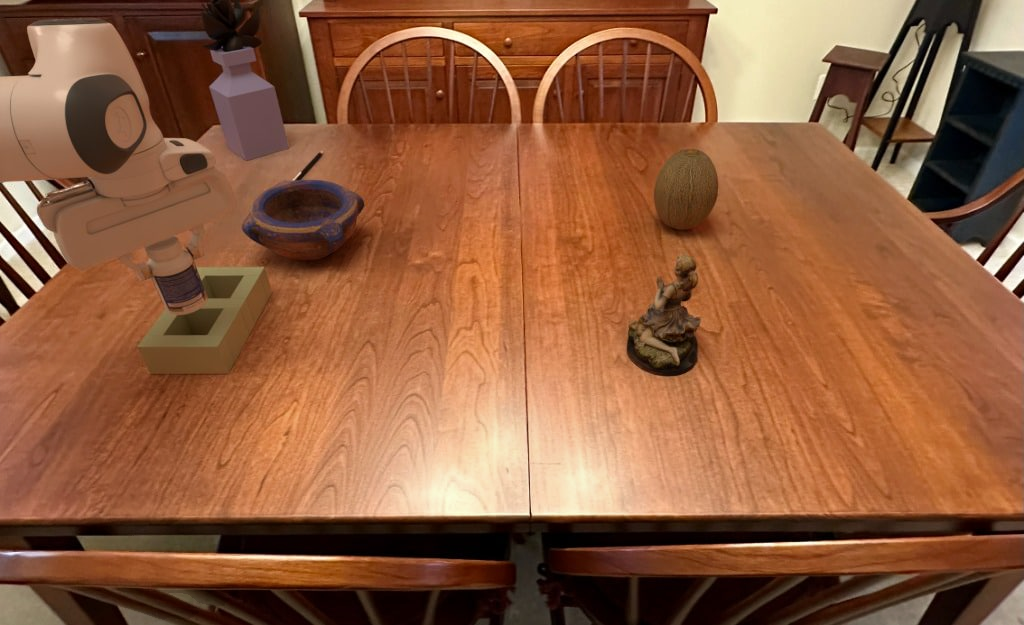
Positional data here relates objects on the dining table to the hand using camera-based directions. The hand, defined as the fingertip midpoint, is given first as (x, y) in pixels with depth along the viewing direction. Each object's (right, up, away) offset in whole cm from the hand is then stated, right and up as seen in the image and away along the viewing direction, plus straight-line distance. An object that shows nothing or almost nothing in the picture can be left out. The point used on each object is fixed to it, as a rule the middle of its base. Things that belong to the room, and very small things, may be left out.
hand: (172, 266), depth 79 cm
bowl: (+9, +6, +30) cm, 32 cm away
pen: (-2, +26, +57) cm, 62 cm away
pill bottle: (0, -5, +4) cm, 6 cm away
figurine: (+66, -11, +9) cm, 68 cm away
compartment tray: (0, -9, +12) cm, 15 cm away
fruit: (+76, +11, +36) cm, 85 cm away
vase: (-16, +34, +67) cm, 77 cm away
